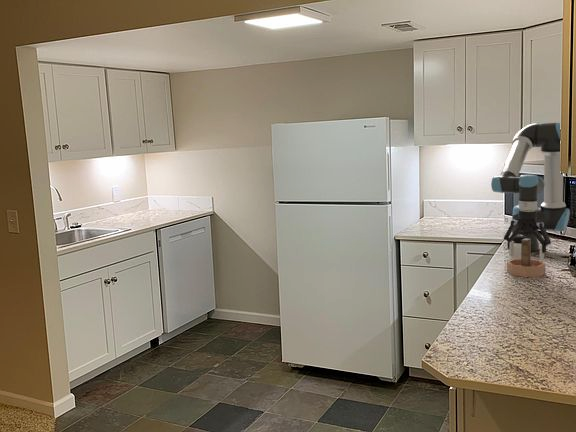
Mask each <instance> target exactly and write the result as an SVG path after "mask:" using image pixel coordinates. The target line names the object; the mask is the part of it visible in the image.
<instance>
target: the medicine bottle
mask: <svg viewBox="0 0 576 432" xmlns="http://www.w3.org/2000/svg"><path fill="white" fill-rule="evenodd" d="M525 238H526V237H525V236H523V235H517V236H516V237H515V238H514V239H513V240H512V241H514V255H513V256H509V255H508V256H509V261H510V260H512V259H521V243H522V239H525Z"/></svg>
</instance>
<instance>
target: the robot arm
mask: <svg viewBox="0 0 576 432" xmlns="http://www.w3.org/2000/svg"><path fill="white" fill-rule="evenodd" d="M560 123H561V122H542V123H541V122H539V123H538V122H536V123H531V124H528V125H526V126H525V127H523V128H522V129H520V130H519V131H518V132H517V133H516V134H515V136H514V137H513V139H512V141H511V145H512V147H511V149H510V152H509V154H508V155H507V159H506V161H505V163H504V166H503V168H502V171H501V172H500V175H495V176H493V177H492V178H491V191H492V192H494V193H500V194H502V193H503V194H518V204H517V205H515V206H514V207H513V208H512V214H511V216H512V218H511V219H512V220H510V225H509V227H508V229H507V230H506V233H505V234H504V237H502V238H503V240H504V241H507V249H509V253H508V256H513V255H514V241H512V240H513V239H514V238H515V237H516V236H517V235H523V236H525V237H526V238H527V239H531V252H536V251H539V260H540V261H542V262H543V261H544V260H545V254H546V252H547V246H548V245H551V244H552V242H551V241H552V240H551V239H550V237H549V234H548V232H564V231H565V230H566V228H567V227H568V224H569V220H570V214H571V212H570V208H567V205H566V202H564V197H563V196H564V173H563V174H561V173H560ZM533 148H540V151H541V153H542V154H543V156H544V159H543V160H544V161H543V162H544V163H543V164H544V165H543V168H544V169H543V171H544V172H543V173H544V175H543V178H542V177H540V176H538V175H537V174H521V175H520V171H521V170H522V167H523V165H524V163H525V160H526V158H527V155H528V153H529V152H530V151H531V150H532V149H533ZM519 175H520V176H519ZM542 192H543V202H541V204H540V207H539V206H538V195H539V194H540V193H542ZM539 231H540V232H541V234H540V232H539ZM547 231H548V232H547ZM540 244H541V245H540Z"/></svg>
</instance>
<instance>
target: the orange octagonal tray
mask: <svg viewBox="0 0 576 432" xmlns="http://www.w3.org/2000/svg"><path fill="white" fill-rule="evenodd" d="M519 265H521V259H512V260H510V259H509V260H507V261H506V272H507V273H508V274H510V275H512V276H515V277H522V278H523V277H524V278H537V277H538V278H540V277H542V276H543V275H545V274H546V263H545V262H543V260H542V261H540V259H538V260H537V259H533V258H532V259H531V261H530V265H535V266H519Z"/></svg>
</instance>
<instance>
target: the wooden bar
mask: <svg viewBox="0 0 576 432" xmlns="http://www.w3.org/2000/svg"><path fill="white" fill-rule="evenodd" d="M531 254H532V251H531V239H527V238H525V239H522V243H521V266H530V261H531V257H532V255H531Z"/></svg>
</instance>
